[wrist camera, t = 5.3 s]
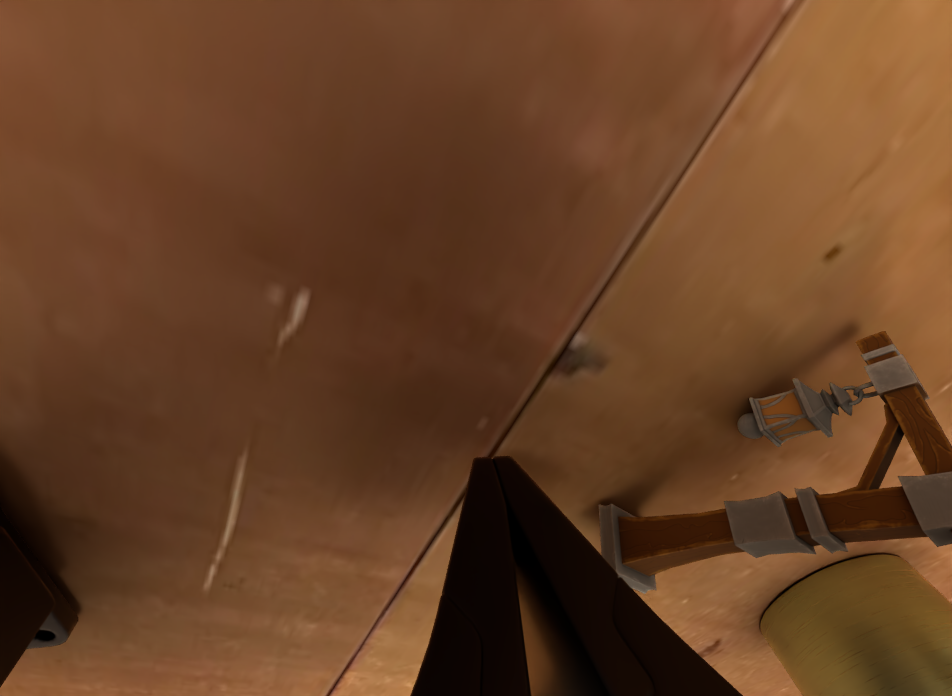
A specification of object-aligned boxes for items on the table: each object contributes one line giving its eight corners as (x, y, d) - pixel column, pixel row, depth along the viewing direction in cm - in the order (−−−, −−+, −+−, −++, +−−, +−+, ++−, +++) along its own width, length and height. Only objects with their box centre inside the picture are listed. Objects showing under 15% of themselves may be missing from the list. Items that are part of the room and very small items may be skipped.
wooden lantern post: (953, 339, 9) (1137, 569, 6) (628, 447, 14) (646, 602, 11) (928, 292, 8) (1124, 531, 5) (593, 424, 13) (603, 585, 11)
